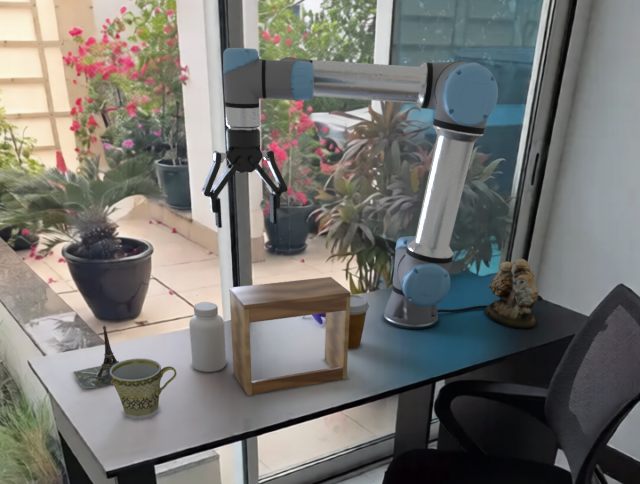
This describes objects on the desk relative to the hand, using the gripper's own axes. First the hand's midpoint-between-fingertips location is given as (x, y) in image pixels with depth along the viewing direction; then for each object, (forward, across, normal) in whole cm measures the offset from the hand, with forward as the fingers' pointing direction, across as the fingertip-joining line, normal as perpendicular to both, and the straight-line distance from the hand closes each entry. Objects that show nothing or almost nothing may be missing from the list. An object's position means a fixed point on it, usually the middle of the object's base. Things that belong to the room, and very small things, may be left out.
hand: (246, 224), depth 158 cm
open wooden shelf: (+29, -2, +26) cm, 39 cm away
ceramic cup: (+29, +32, +31) cm, 53 cm away
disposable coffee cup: (+29, -22, +14) cm, 39 cm away
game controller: (+29, -22, -3) cm, 36 cm away
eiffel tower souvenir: (+29, +37, +12) cm, 48 cm away
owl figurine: (+29, -74, +12) cm, 80 cm away
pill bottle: (+29, +15, +14) cm, 35 cm away
